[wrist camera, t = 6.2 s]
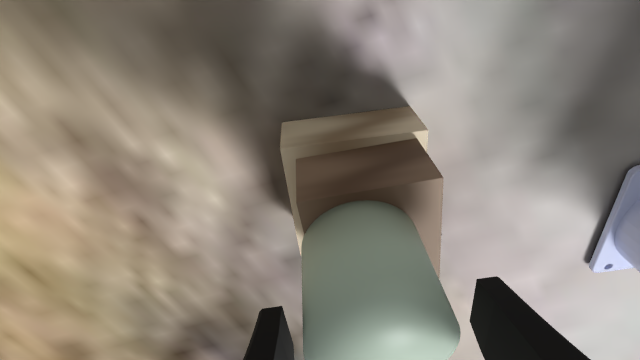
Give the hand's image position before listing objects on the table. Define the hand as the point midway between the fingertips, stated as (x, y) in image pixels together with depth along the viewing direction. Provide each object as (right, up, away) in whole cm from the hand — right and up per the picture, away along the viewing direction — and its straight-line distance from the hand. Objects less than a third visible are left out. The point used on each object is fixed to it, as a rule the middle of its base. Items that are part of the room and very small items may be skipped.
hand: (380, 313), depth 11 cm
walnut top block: (0, +3, +5) cm, 6 cm away
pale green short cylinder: (0, +2, +2) cm, 3 cm away
